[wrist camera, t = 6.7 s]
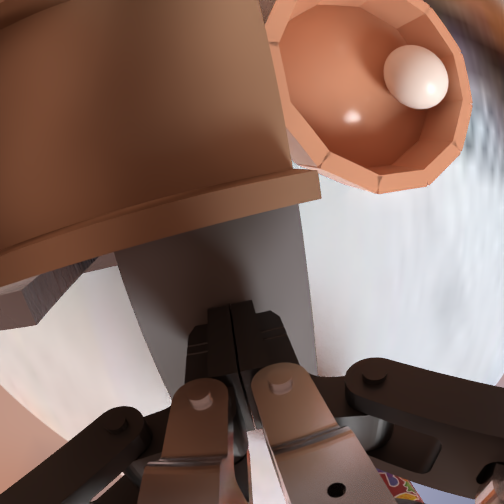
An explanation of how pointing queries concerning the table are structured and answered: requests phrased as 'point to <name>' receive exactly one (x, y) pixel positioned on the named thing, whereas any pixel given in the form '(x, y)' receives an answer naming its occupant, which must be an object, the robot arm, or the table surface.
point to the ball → (415, 77)
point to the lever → (153, 161)
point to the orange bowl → (364, 91)
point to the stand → (43, 292)
